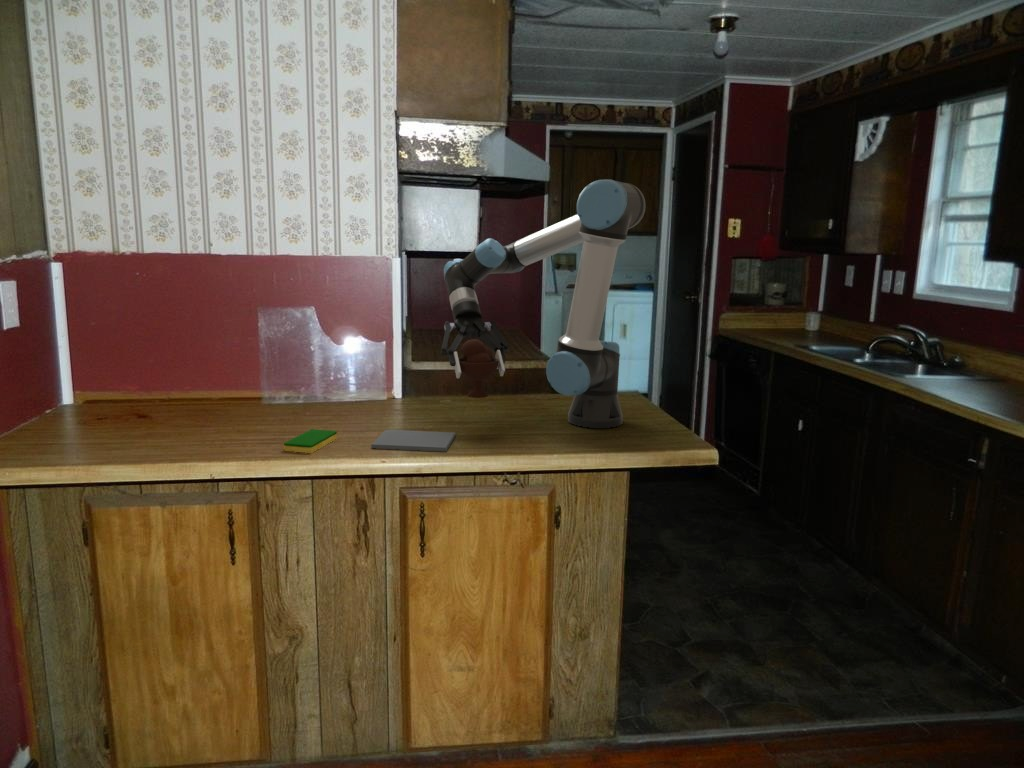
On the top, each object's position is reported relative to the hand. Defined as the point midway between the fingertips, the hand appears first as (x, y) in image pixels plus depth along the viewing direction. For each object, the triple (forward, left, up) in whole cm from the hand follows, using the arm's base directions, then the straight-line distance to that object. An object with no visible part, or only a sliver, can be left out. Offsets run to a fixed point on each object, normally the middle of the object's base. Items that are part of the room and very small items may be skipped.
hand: (481, 374), depth 191 cm
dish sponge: (+39, +18, -16) cm, 46 cm away
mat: (+15, +12, -15) cm, 24 cm away
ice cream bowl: (+1, -3, -6) cm, 7 cm away
